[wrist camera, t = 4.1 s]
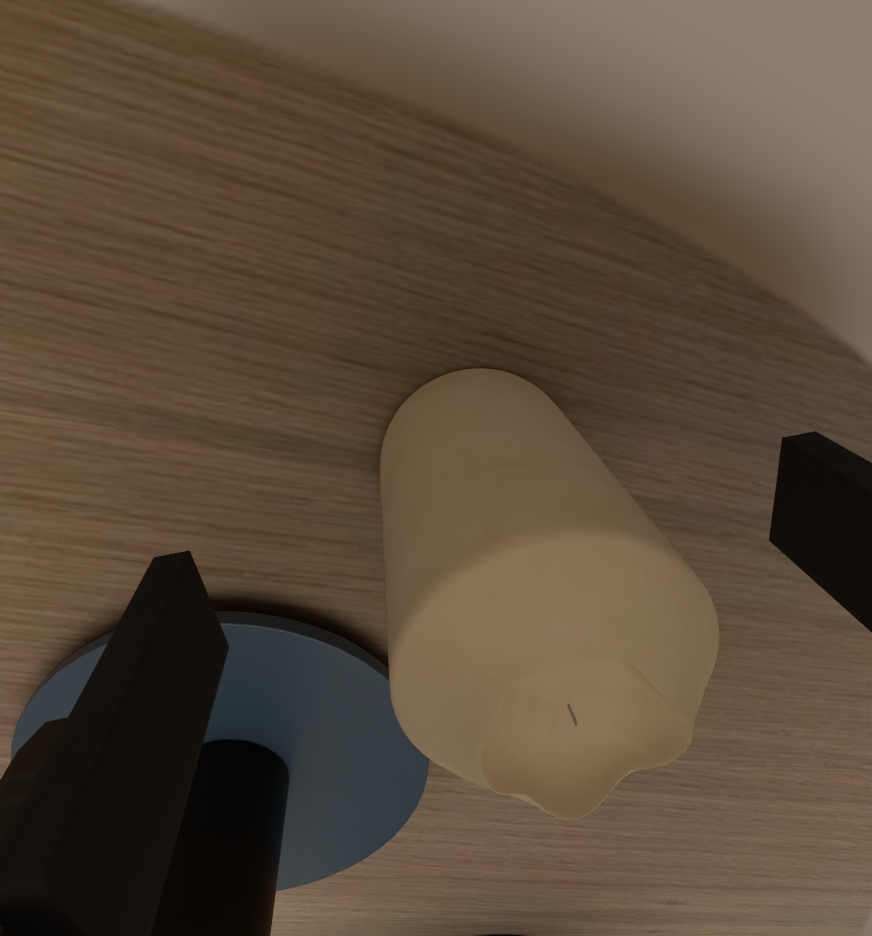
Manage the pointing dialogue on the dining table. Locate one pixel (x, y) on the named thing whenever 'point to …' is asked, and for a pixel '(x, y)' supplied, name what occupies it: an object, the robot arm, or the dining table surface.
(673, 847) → the dining table surface
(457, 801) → the dining table surface
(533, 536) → the candle
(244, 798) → the lid
